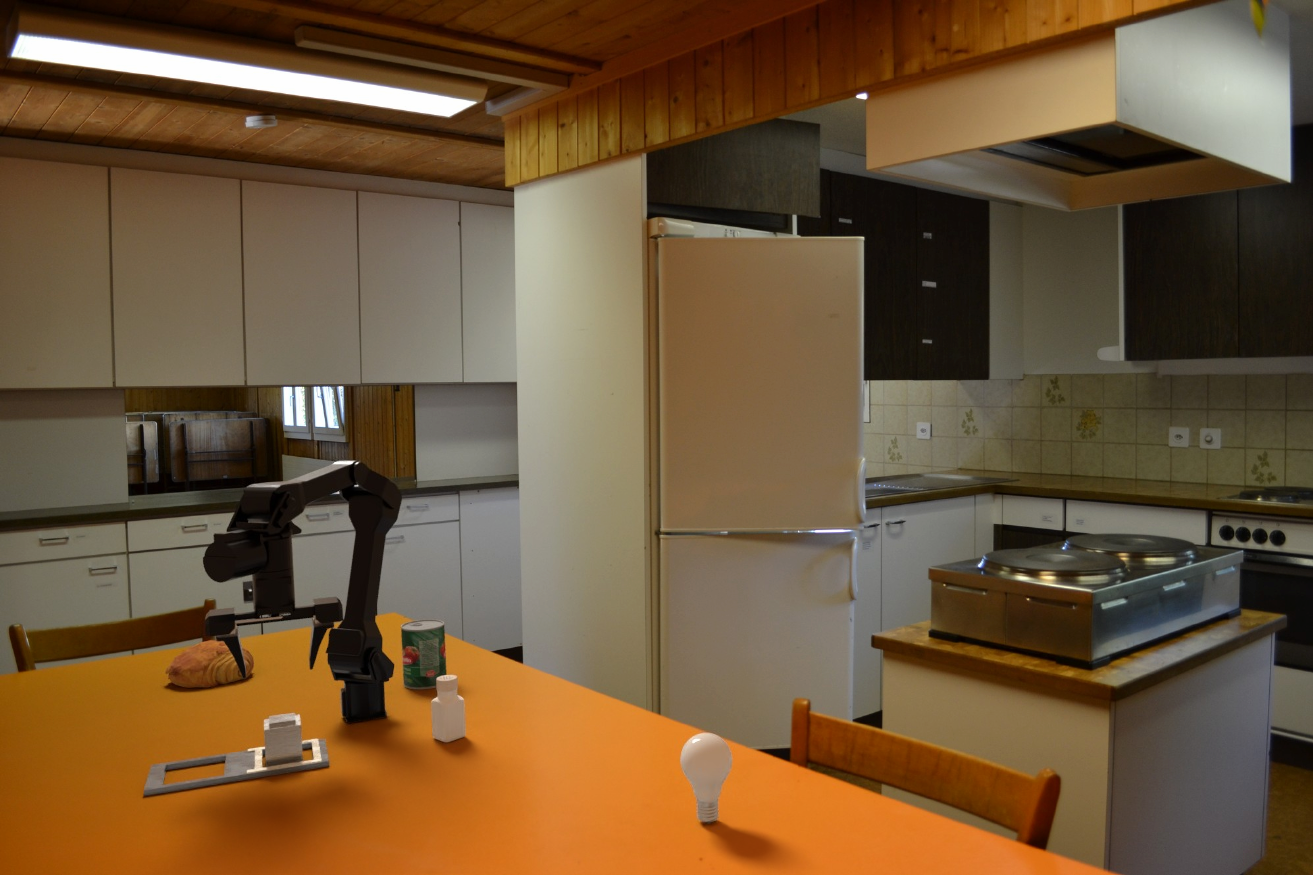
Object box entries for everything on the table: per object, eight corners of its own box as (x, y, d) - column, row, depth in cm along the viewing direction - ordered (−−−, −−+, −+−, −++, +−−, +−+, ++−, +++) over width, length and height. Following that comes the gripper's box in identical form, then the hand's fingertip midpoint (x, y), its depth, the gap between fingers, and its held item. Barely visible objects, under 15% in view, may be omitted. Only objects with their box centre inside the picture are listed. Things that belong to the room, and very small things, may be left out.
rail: (325, 743, 152) (324, 737, 152) (329, 766, 143) (328, 759, 143) (151, 770, 143) (151, 763, 143) (143, 796, 134) (143, 788, 134)
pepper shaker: (467, 737, 153) (465, 676, 153) (446, 744, 150) (443, 683, 150) (452, 731, 156) (449, 672, 156) (430, 738, 153) (428, 678, 153)
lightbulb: (679, 812, 124) (677, 726, 124) (729, 809, 125) (727, 723, 124) (685, 835, 118) (682, 745, 117) (737, 831, 118) (735, 741, 118)
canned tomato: (456, 680, 184) (453, 621, 183) (425, 691, 177) (422, 631, 176) (425, 674, 188) (423, 617, 187) (394, 685, 181) (391, 626, 181)
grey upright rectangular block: (301, 753, 149) (299, 710, 148) (302, 764, 144) (300, 720, 144) (266, 758, 147) (263, 715, 146) (266, 770, 142) (263, 725, 142)
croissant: (225, 674, 200) (221, 635, 200) (267, 675, 191) (263, 634, 191) (153, 691, 188) (149, 649, 189) (195, 693, 179) (190, 649, 179)
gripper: (334, 554, 156) (339, 651, 157) (205, 566, 149) (211, 667, 150) (340, 565, 146) (346, 669, 147) (202, 579, 139) (208, 688, 139)
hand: (278, 673), depth 146 cm, fingers open, 9 cm apart
